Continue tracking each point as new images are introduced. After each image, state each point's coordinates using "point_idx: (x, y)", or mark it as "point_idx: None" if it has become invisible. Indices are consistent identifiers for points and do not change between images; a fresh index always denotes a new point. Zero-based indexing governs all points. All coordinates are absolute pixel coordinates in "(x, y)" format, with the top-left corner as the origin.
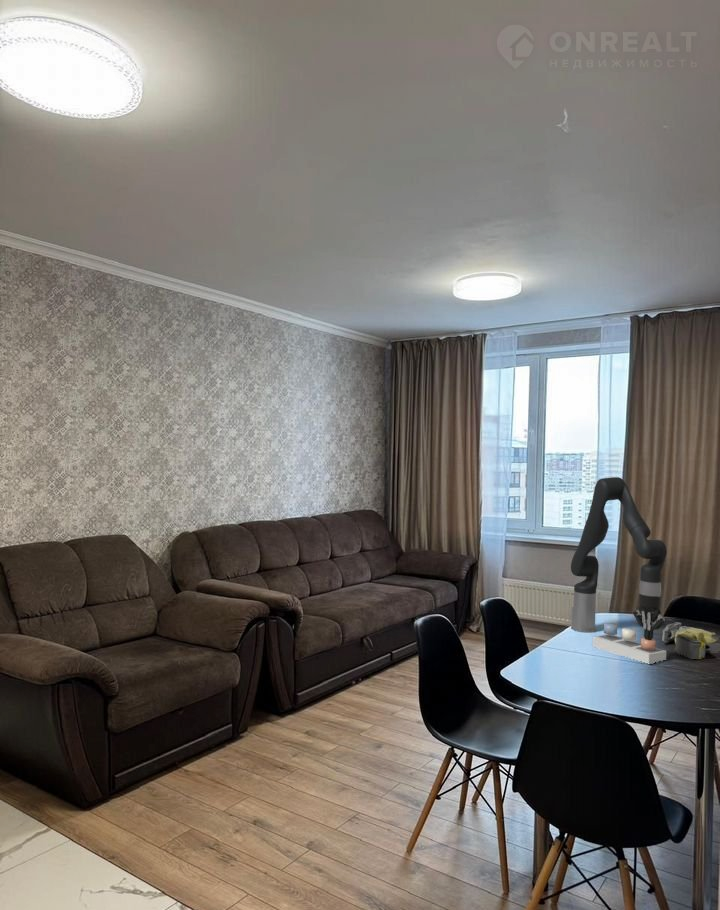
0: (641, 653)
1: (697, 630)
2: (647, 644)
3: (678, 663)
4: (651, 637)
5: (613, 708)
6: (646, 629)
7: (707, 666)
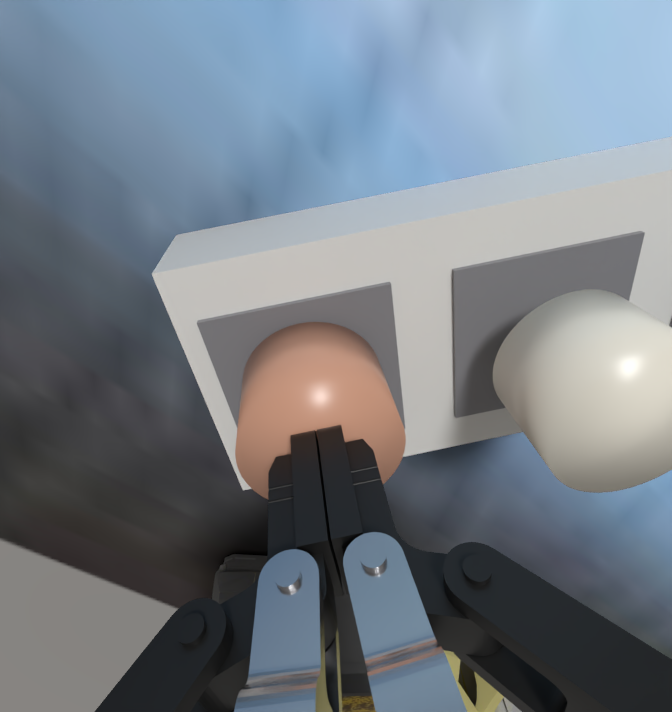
0: (253, 247)
1: None
2: (265, 377)
3: (205, 477)
4: (271, 487)
5: None
6: (352, 549)
7: (135, 574)
